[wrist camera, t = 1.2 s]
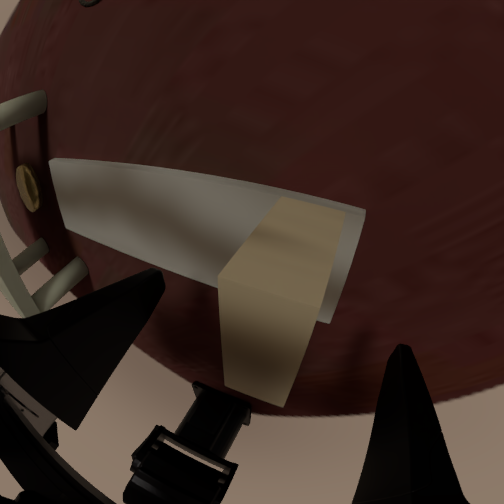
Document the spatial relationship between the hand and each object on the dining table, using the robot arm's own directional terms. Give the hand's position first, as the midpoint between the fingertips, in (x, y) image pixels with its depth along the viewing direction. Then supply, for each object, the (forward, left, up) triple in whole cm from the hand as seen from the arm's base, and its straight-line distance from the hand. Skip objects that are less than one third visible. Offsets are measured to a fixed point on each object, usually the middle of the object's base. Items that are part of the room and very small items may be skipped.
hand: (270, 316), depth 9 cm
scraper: (0, +8, -4) cm, 9 cm away
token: (0, +26, -4) cm, 26 cm away
